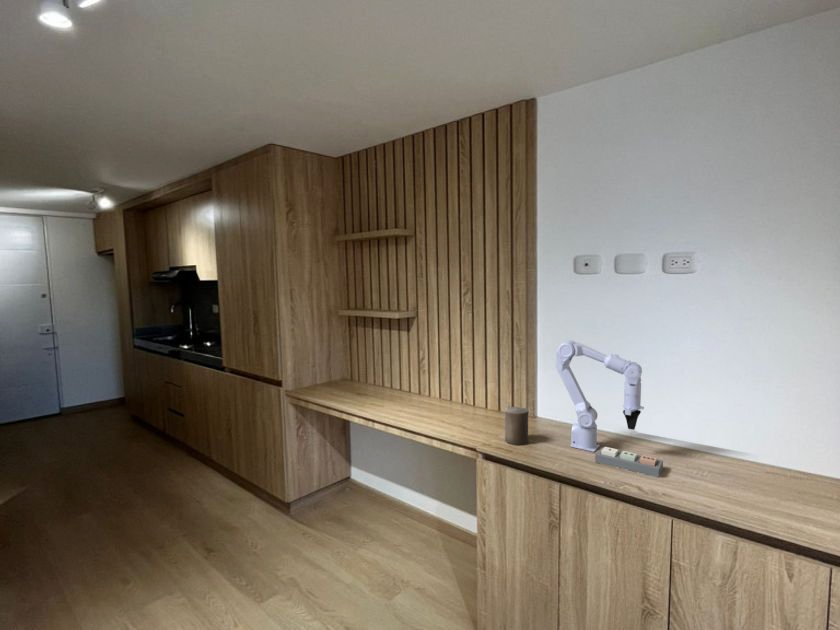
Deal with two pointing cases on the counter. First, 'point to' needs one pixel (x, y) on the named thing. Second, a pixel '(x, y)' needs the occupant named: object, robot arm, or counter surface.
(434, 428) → the counter surface
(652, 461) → the three-pip tile
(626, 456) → the tile
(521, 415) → the pillar candle
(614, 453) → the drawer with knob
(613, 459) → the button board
